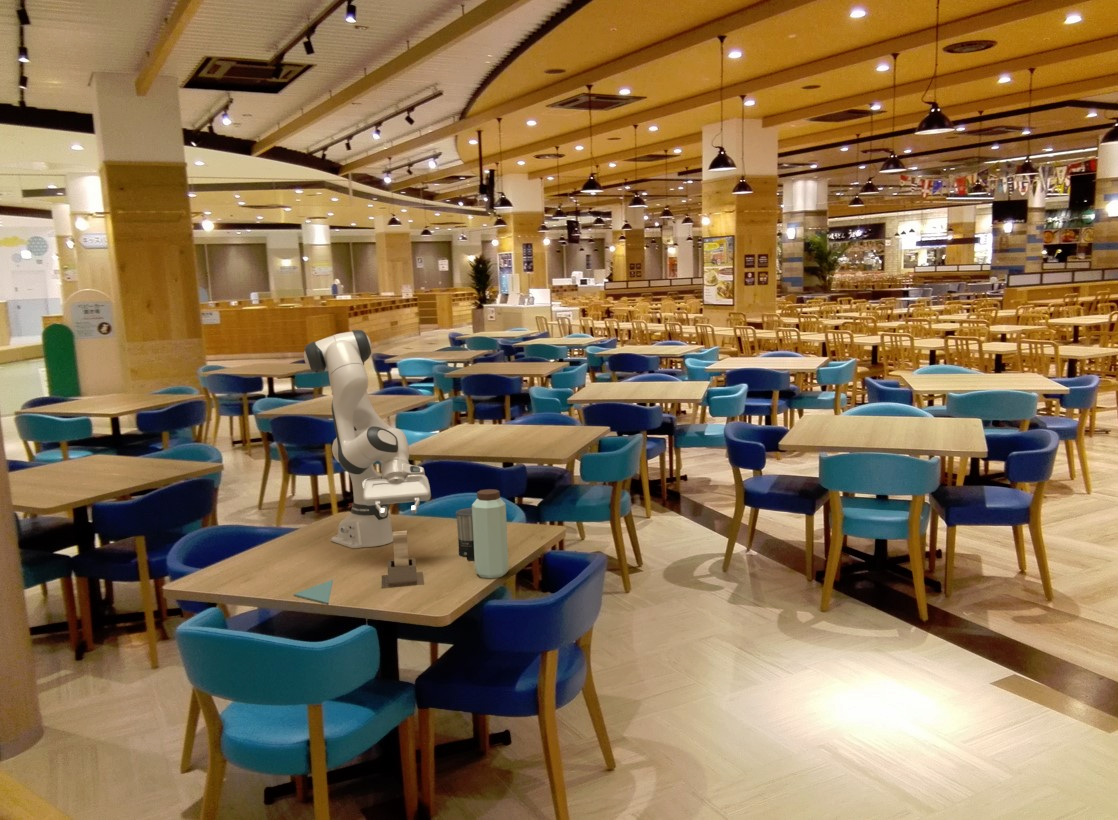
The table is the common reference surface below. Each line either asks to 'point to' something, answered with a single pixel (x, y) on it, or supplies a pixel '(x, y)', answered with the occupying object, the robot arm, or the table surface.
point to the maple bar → (400, 548)
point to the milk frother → (465, 533)
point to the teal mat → (317, 592)
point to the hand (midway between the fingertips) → (398, 513)
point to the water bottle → (490, 534)
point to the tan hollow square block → (402, 575)
